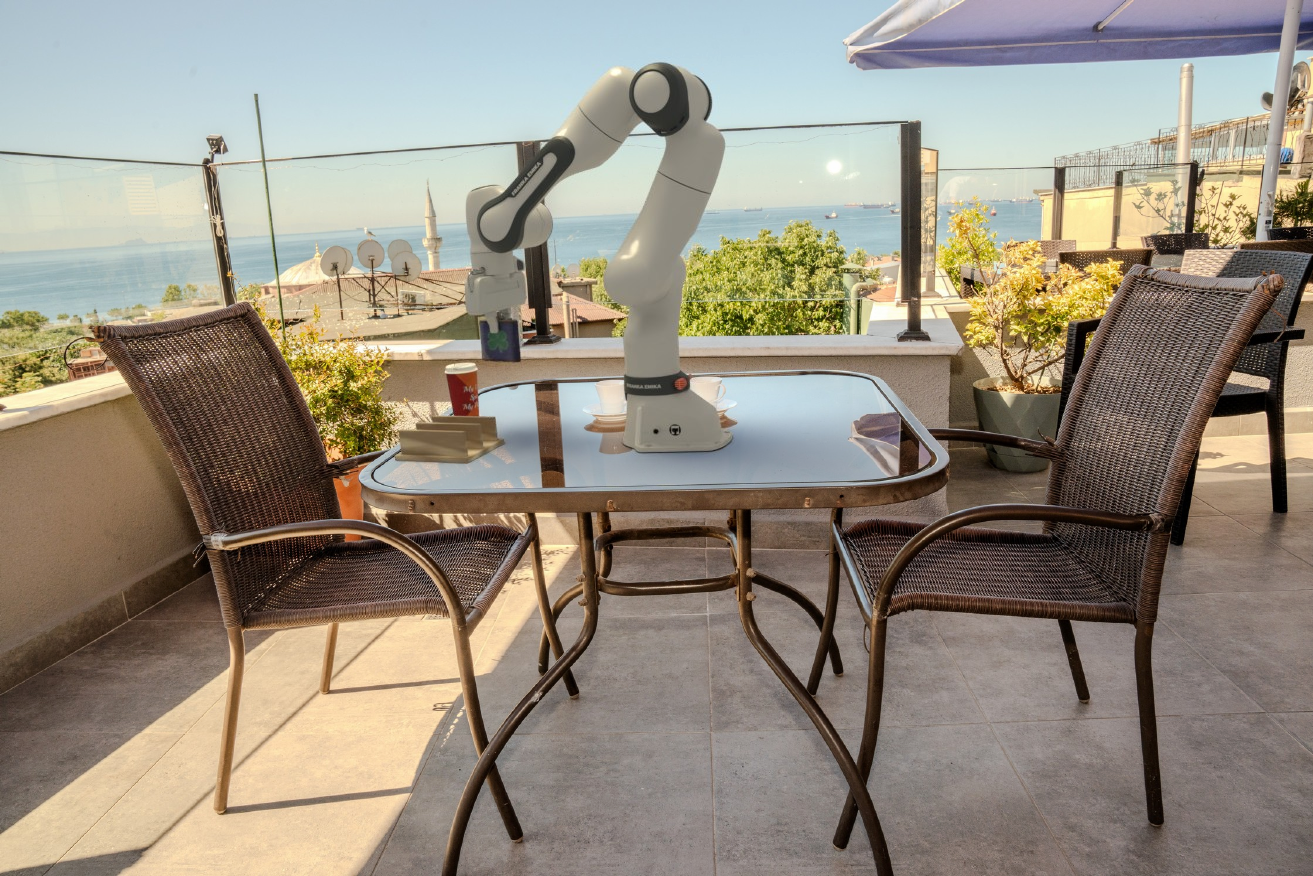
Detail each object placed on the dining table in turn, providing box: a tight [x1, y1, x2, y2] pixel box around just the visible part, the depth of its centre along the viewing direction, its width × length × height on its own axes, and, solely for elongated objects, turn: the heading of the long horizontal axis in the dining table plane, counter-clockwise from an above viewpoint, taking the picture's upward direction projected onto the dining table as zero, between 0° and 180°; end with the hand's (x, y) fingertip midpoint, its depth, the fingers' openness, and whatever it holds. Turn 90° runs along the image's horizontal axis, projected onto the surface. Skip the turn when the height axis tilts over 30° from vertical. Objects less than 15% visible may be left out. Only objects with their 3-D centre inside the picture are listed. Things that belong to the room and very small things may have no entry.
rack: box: [394, 414, 506, 464], centre depth 180 cm, size 15×17×6 cm
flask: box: [478, 310, 522, 363], centre depth 186 cm, size 9×3×11 cm, turn 70°
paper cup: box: [444, 362, 480, 416], centre depth 203 cm, size 8×8×14 cm
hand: (500, 331), depth 186 cm, fingers closed on flask, 3 cm apart
